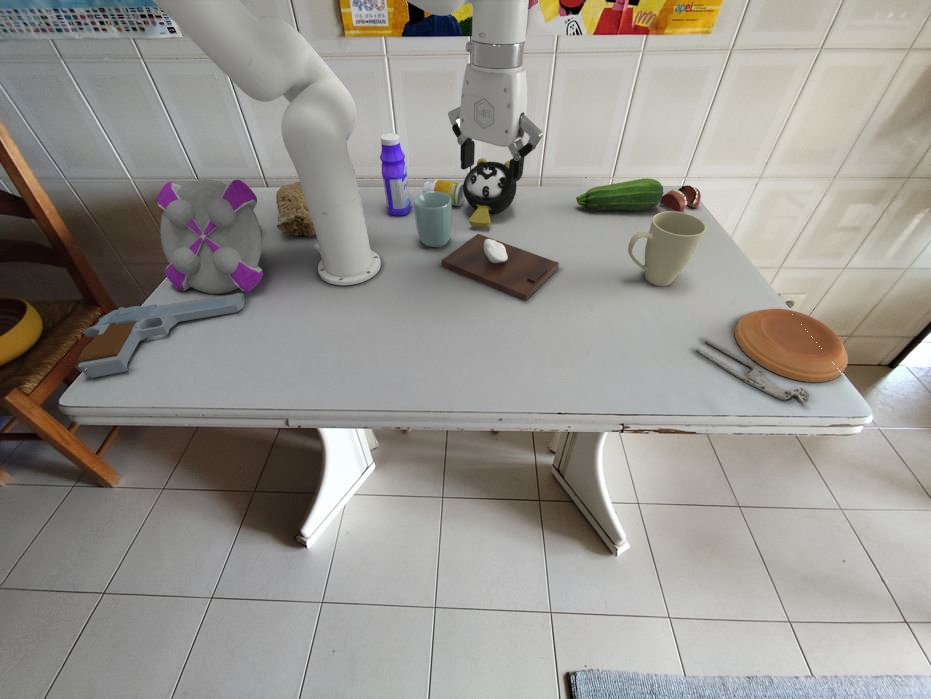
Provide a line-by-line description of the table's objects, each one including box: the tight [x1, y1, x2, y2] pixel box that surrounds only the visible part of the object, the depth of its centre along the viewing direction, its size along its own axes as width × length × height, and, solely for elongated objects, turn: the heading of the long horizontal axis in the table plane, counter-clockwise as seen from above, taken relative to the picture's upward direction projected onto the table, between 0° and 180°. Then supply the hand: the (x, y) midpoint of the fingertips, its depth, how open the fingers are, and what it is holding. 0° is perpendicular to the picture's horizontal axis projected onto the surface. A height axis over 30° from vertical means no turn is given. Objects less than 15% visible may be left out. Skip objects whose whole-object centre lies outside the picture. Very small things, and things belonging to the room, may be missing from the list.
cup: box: [413, 191, 453, 248], centre depth 90 cm, size 8×8×10 cm
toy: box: [156, 179, 264, 295], centre depth 83 cm, size 25×25×15 cm
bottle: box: [379, 132, 412, 216], centre depth 99 cm, size 7×6×17 cm
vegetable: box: [575, 178, 665, 212], centre depth 101 cm, size 7×7×20 cm
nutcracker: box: [695, 340, 811, 406], centre depth 65 cm, size 16×1×5 cm
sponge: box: [275, 181, 316, 237], centre depth 100 cm, size 13×8×20 cm
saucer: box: [734, 308, 849, 383], centre depth 69 cm, size 16×16×3 cm
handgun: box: [77, 292, 245, 379], centre depth 72 cm, size 4×25×15 cm
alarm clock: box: [463, 157, 517, 228], centre depth 99 cm, size 12×15×15 cm
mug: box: [627, 210, 707, 287], centre depth 79 cm, size 11×10×12 cm
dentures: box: [659, 184, 702, 213], centre depth 103 cm, size 6×5×9 cm
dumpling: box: [484, 238, 507, 263], centre depth 85 cm, size 7×5×4 cm
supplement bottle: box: [422, 179, 465, 207], centre depth 106 cm, size 5×5×10 cm
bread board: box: [441, 233, 560, 302], centre depth 86 cm, size 20×13×2 cm, turn 54°
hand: (490, 174), depth 73 cm, fingers open, 9 cm apart
